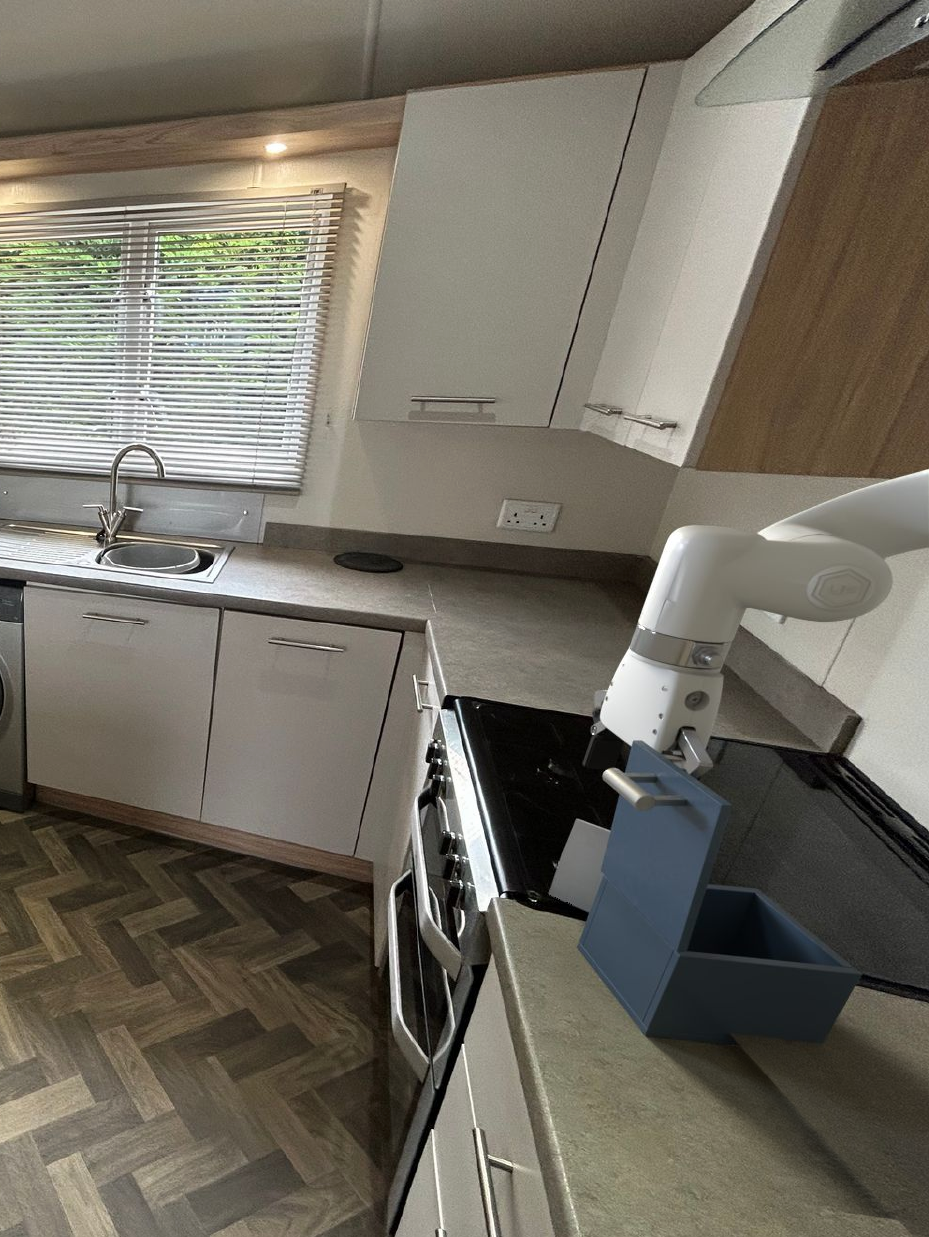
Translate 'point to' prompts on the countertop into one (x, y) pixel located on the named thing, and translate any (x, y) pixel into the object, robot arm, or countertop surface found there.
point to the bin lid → (663, 841)
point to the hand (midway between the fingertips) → (623, 789)
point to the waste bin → (718, 969)
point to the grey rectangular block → (581, 865)
